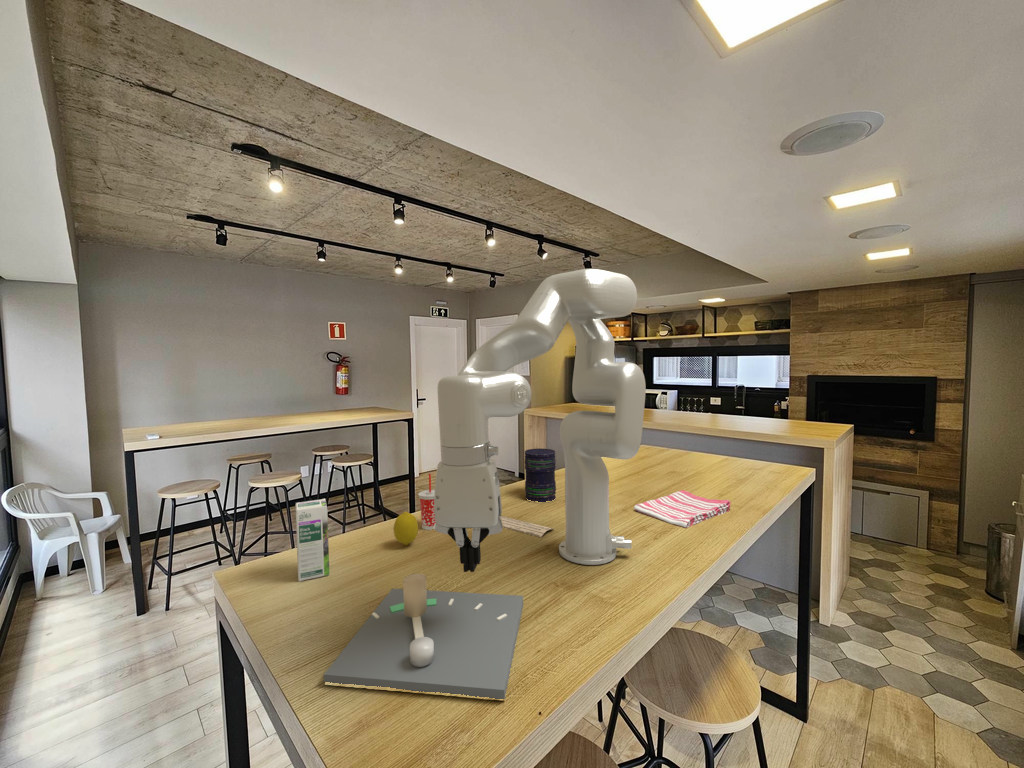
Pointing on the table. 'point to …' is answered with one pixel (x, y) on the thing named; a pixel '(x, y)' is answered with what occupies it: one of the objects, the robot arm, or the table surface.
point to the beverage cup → (427, 507)
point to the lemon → (405, 528)
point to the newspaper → (524, 526)
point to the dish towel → (683, 508)
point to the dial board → (436, 645)
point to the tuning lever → (417, 618)
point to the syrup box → (312, 539)
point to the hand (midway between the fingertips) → (470, 567)
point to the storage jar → (540, 475)
